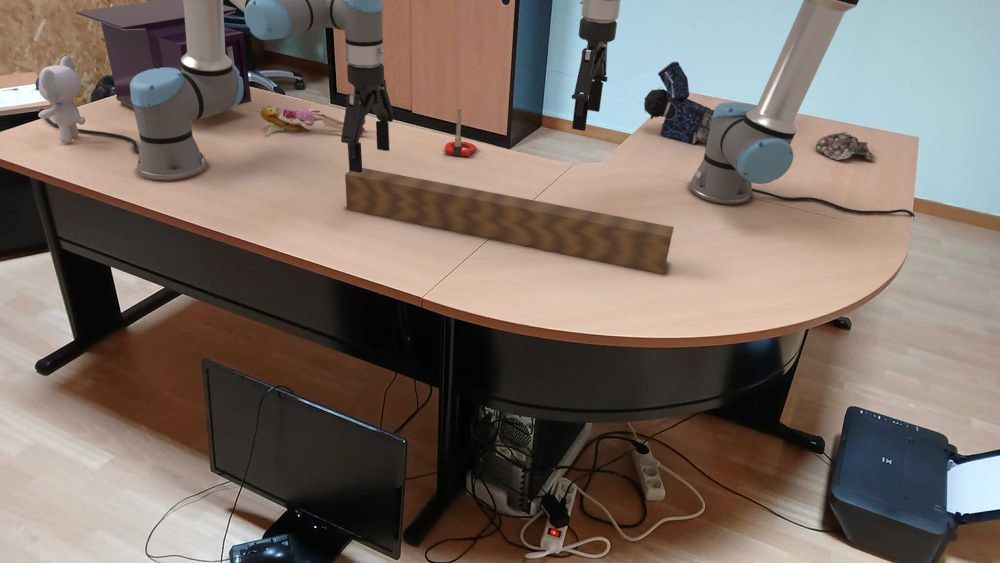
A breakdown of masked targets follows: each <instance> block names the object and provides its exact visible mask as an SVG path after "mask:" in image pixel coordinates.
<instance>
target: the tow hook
mask: <svg viewBox="0 0 1000 563" xmlns="http://www.w3.org/2000/svg"><path fill="white" fill-rule="evenodd" d="M461 133H462V108H461V107H458V108H457V116H456V129H455V136H454V141H450V142H447V143H446V144H444V149H445V151H444V153H445V154H446V155H453V156H459V157H461V156H462V157H470V155H471V154H472V153H474V152H476V150H477V147H476V145H475V144H474V143H471V142H467V141H462V136H461ZM463 147H466V149H463Z"/></svg>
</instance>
